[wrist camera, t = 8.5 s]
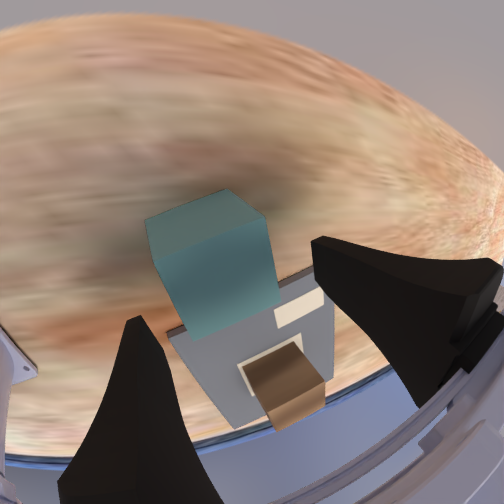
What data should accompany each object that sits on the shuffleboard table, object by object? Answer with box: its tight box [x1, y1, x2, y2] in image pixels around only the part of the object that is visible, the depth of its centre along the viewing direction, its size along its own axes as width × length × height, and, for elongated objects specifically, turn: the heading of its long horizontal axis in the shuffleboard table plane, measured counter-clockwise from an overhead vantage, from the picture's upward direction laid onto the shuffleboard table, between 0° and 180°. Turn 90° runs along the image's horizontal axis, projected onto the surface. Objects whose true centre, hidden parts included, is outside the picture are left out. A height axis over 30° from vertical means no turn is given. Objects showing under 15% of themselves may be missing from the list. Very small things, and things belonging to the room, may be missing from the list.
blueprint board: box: [167, 266, 334, 429], centre depth 22 cm, size 16×12×1 cm
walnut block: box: [242, 341, 325, 432], centre depth 20 cm, size 4×4×4 cm
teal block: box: [145, 189, 281, 342], centre depth 13 cm, size 4×4×4 cm
